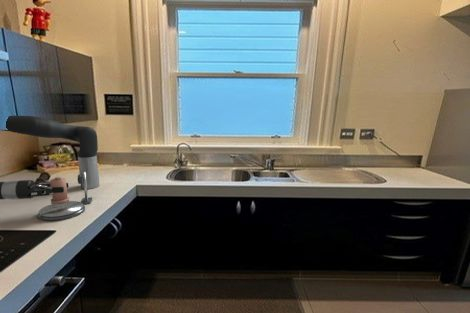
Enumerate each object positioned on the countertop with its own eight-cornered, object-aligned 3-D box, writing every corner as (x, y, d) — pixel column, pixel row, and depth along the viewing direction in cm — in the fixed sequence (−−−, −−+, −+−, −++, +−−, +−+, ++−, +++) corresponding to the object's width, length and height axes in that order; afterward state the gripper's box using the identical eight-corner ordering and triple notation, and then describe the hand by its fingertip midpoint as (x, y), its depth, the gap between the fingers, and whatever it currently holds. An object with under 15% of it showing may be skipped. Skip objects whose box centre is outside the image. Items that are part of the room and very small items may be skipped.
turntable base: (47, 207, 124) (47, 204, 124) (89, 203, 128) (88, 201, 128) (30, 223, 108) (30, 220, 108) (79, 218, 112) (78, 216, 112)
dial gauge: (82, 201, 132) (79, 171, 129) (92, 200, 133) (89, 170, 130) (79, 204, 128) (76, 173, 125) (90, 203, 129) (87, 173, 126)
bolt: (37, 190, 152) (44, 182, 166) (46, 185, 153) (52, 177, 167) (29, 182, 150) (37, 174, 164) (38, 177, 151) (45, 170, 165)
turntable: (47, 204, 123) (47, 202, 123) (87, 201, 127) (87, 199, 127) (32, 219, 108) (32, 216, 108) (77, 215, 112) (77, 212, 112)
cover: (54, 199, 119) (51, 176, 117) (71, 198, 121) (69, 175, 119) (48, 204, 113) (45, 180, 111) (66, 203, 115) (64, 179, 113)
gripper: (8, 186, 105) (59, 183, 109) (26, 176, 118) (70, 174, 123) (11, 204, 106) (61, 201, 110) (28, 193, 120) (71, 190, 124)
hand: (65, 187), depth 116 cm, fingers closed on cover, 5 cm apart
